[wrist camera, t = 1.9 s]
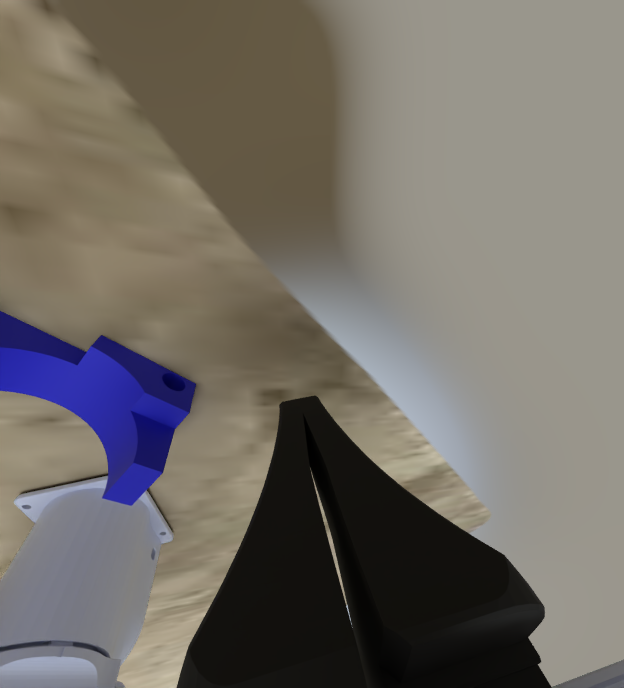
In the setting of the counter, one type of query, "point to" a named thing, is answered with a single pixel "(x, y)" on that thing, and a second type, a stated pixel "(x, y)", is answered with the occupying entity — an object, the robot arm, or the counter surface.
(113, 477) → the cable clip
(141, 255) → the counter surface
